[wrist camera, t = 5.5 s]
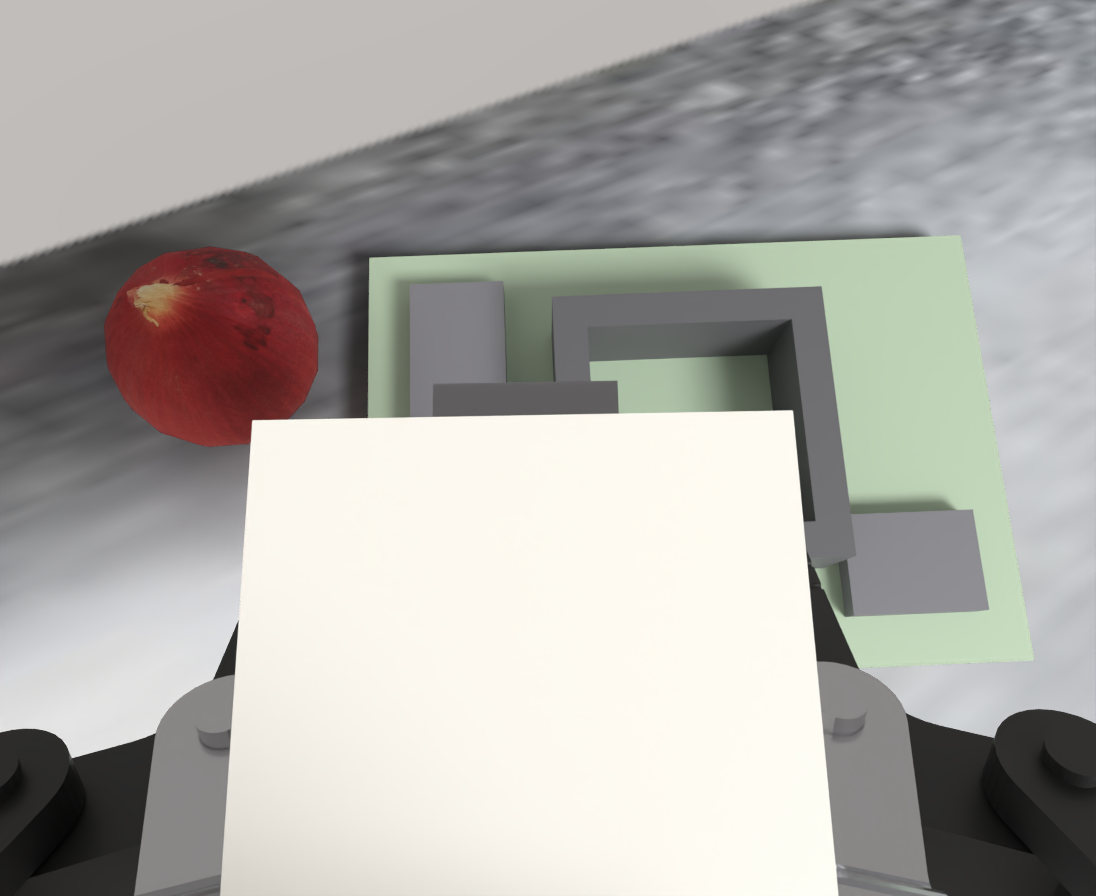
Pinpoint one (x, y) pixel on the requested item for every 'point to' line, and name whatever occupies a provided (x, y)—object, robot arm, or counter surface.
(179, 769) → the robot arm
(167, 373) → the onion
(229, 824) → the plug
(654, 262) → the board
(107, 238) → the counter surface
